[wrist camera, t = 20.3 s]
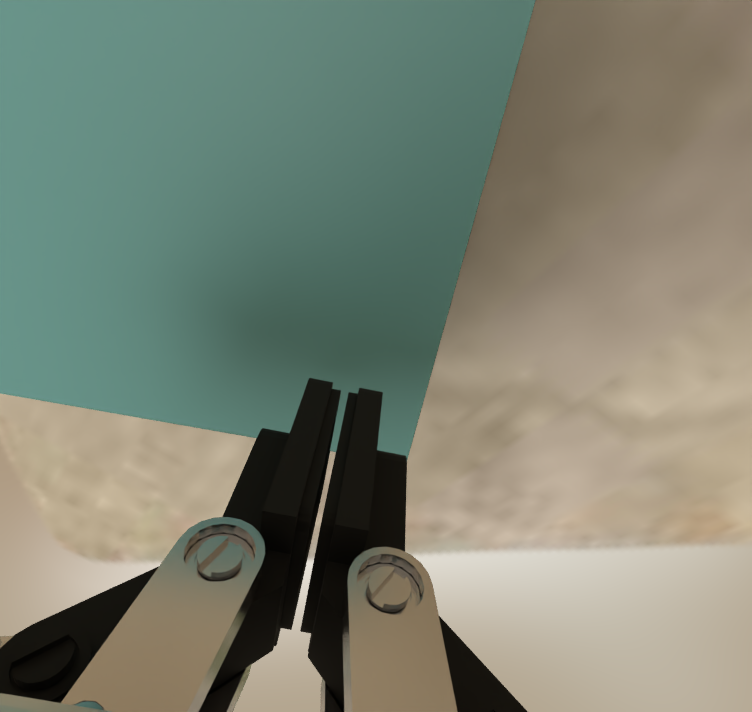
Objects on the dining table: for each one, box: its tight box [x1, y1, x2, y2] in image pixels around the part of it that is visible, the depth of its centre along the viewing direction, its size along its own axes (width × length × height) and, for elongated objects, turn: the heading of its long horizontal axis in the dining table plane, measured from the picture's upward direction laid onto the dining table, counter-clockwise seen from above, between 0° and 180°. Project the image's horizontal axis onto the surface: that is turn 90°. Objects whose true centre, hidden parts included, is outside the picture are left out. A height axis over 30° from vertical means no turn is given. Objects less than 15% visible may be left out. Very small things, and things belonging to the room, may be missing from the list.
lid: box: [0, 0, 535, 458], centre depth 13 cm, size 16×19×1 cm
